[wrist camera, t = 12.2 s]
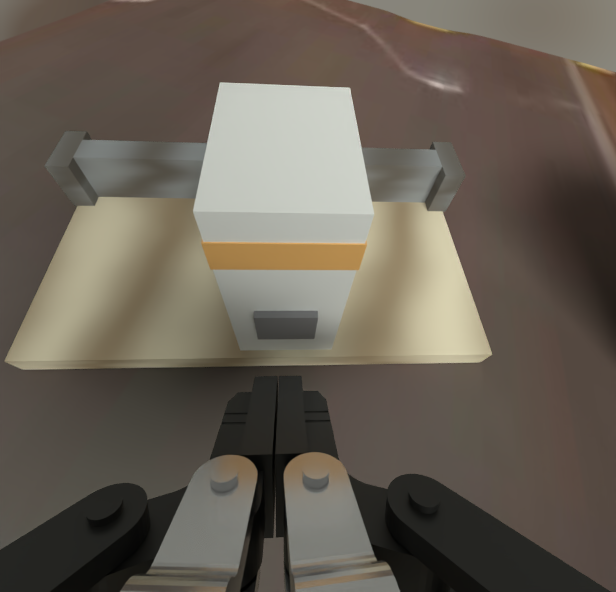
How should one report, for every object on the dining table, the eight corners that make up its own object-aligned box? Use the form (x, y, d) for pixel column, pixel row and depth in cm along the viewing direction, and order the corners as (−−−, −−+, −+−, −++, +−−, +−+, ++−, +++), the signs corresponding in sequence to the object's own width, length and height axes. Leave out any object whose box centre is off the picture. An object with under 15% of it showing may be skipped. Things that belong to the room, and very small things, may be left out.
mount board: (18, 369, 15) (-58, 336, 12) (103, 177, 23) (70, 122, 19) (483, 362, 17) (533, 330, 14) (424, 184, 24) (447, 133, 21)
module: (238, 356, 15) (188, 220, 7) (247, 251, 18) (218, 81, 11) (332, 355, 15) (378, 223, 8) (325, 252, 19) (351, 86, 11)
